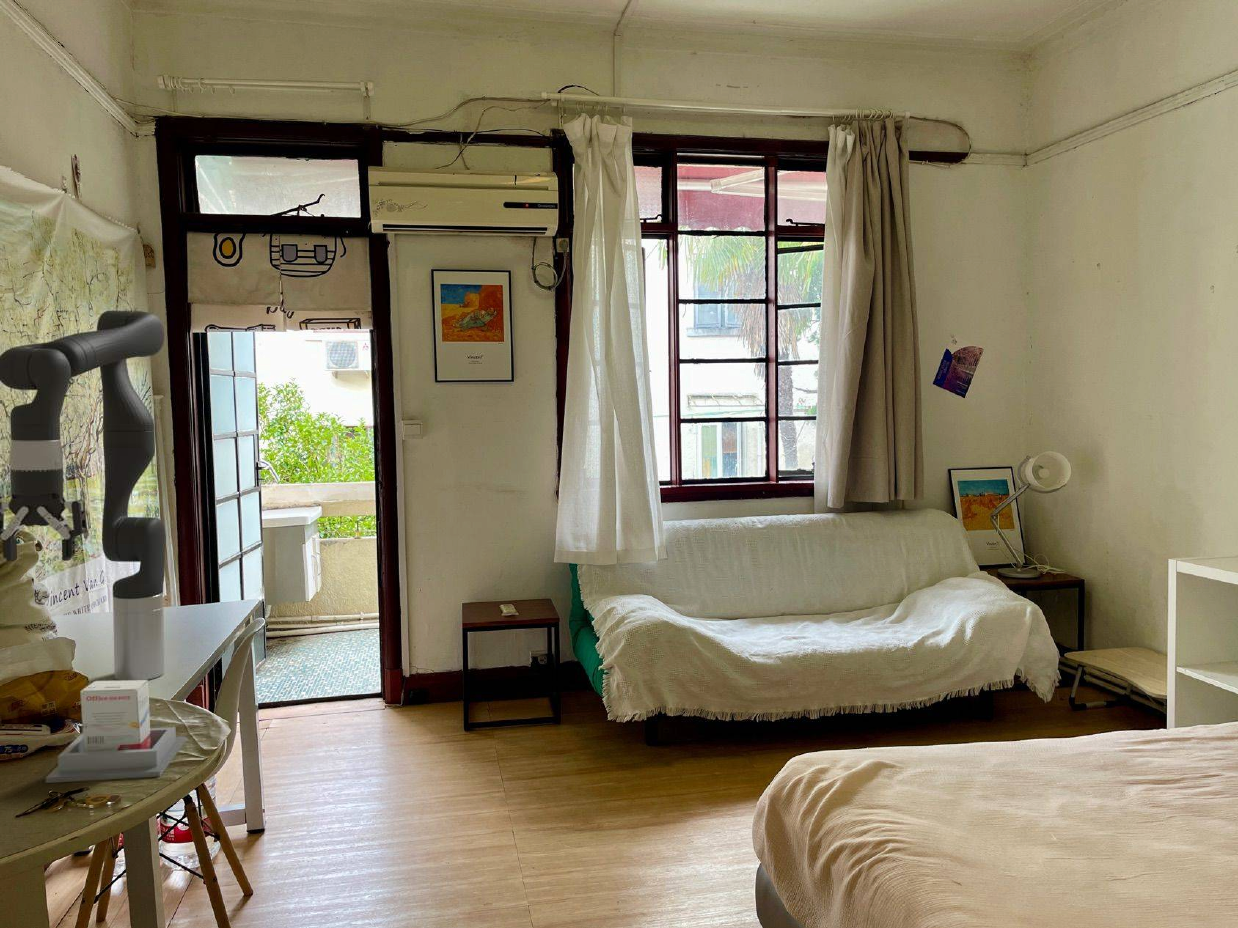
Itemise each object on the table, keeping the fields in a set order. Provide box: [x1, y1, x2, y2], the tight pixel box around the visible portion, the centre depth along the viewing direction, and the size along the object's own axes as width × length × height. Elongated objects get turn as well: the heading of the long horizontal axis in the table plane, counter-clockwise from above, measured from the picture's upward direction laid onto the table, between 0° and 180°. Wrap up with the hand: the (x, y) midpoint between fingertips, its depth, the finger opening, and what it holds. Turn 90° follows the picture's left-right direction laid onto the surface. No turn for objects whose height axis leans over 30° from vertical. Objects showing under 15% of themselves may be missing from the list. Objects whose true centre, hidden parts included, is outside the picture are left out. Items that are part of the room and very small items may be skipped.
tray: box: [45, 726, 187, 784], centre depth 141 cm, size 14×16×3 cm
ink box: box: [79, 679, 151, 752], centre depth 141 cm, size 9×5×12 cm, turn 98°
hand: (39, 560), depth 151 cm, fingers open, 8 cm apart
